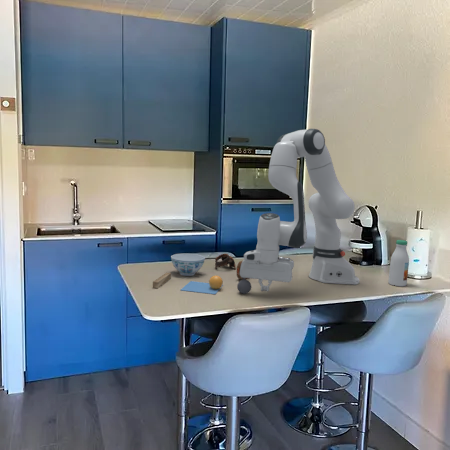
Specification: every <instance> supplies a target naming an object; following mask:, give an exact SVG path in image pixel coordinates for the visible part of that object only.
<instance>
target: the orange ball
mask: <svg viewBox="0 0 450 450" xmlns="http://www.w3.org/2000/svg"><path fill="white" fill-rule="evenodd" d="M208 283H209V285H210V287H211V288H212V289H219V288H220V289H222V287H223V286H222V285H224V284H223V283H224V280H223V278H222V277H221V276H219V275H217V274H216V275H213V276H211V277H210V278H209V280H208ZM221 286H222V287H221Z"/></svg>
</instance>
